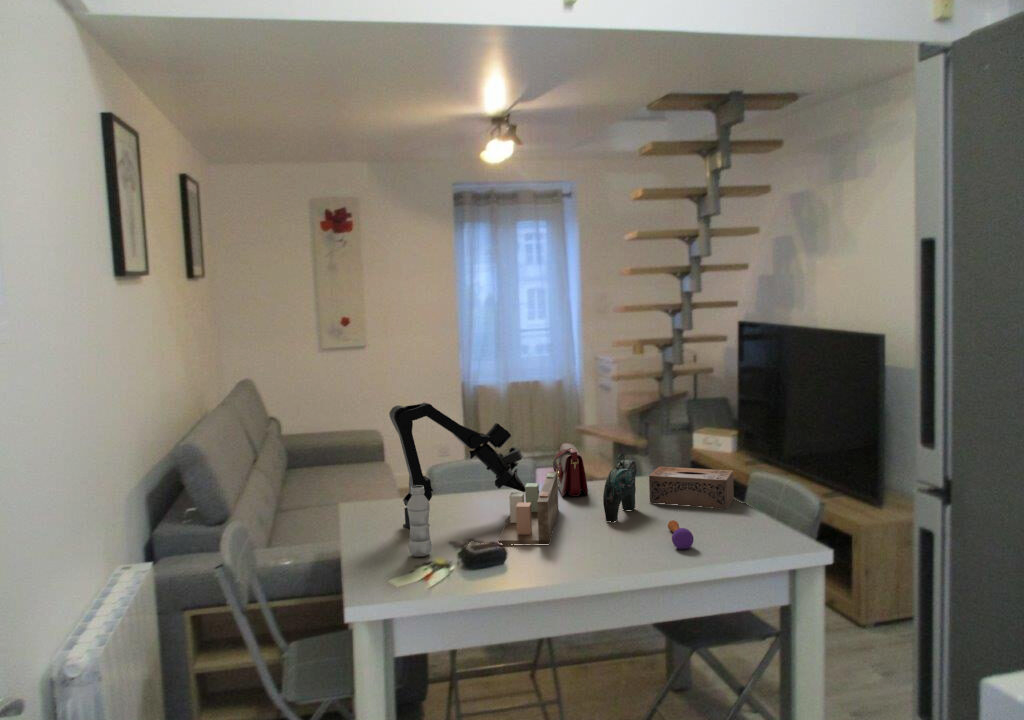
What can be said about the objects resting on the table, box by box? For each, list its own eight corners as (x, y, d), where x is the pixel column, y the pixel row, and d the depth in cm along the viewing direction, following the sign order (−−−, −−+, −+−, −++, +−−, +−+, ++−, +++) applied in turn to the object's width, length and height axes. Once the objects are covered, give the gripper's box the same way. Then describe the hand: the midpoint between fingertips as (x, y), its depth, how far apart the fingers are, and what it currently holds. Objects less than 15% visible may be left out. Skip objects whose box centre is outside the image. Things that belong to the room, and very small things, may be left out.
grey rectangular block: (510, 522, 250) (509, 496, 250) (512, 518, 255) (511, 492, 254) (523, 522, 250) (522, 496, 249) (524, 518, 254) (523, 492, 254)
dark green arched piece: (624, 506, 270) (623, 448, 269) (642, 508, 267) (641, 449, 265) (600, 522, 253) (598, 460, 252) (619, 524, 250) (617, 461, 248)
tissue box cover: (649, 504, 273) (649, 475, 272) (659, 494, 286) (659, 466, 285) (726, 510, 262) (726, 480, 261) (733, 499, 275) (733, 470, 275)
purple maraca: (684, 517, 242) (696, 532, 222) (681, 537, 242) (693, 553, 222) (664, 514, 242) (675, 529, 222) (661, 533, 242) (672, 550, 222)
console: (498, 545, 234) (496, 500, 233) (514, 509, 272) (512, 470, 271) (549, 545, 232) (547, 500, 231) (558, 509, 270) (557, 470, 269)
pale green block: (526, 512, 262) (525, 486, 261) (527, 508, 266) (526, 483, 266) (538, 512, 261) (537, 486, 261) (539, 508, 266) (538, 483, 265)
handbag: (552, 481, 310) (550, 437, 309) (579, 480, 311) (577, 436, 309) (559, 500, 282) (558, 451, 281) (589, 498, 283) (587, 450, 281)
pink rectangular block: (517, 534, 238) (516, 506, 237) (519, 529, 243) (517, 502, 242) (530, 534, 238) (529, 506, 237) (532, 529, 242) (530, 502, 241)
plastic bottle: (420, 550, 233) (417, 483, 231) (437, 554, 228) (433, 485, 227) (404, 556, 228) (400, 487, 226) (420, 561, 223) (417, 490, 222)
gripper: (503, 447, 254) (539, 480, 253) (510, 436, 272) (544, 467, 272) (480, 471, 255) (515, 505, 255) (488, 459, 274) (522, 490, 273)
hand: (525, 491), depth 264 cm, fingers closed, pressing on pale green block
